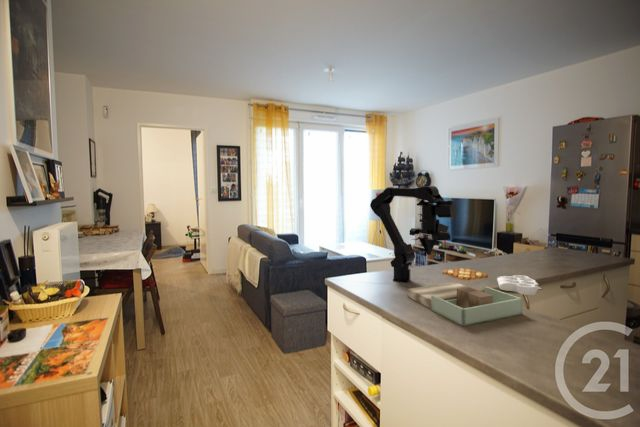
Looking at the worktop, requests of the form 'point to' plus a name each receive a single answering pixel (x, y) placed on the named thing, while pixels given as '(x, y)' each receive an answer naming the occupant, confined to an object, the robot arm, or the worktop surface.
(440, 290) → the bench plate
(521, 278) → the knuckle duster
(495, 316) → the box
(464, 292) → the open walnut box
